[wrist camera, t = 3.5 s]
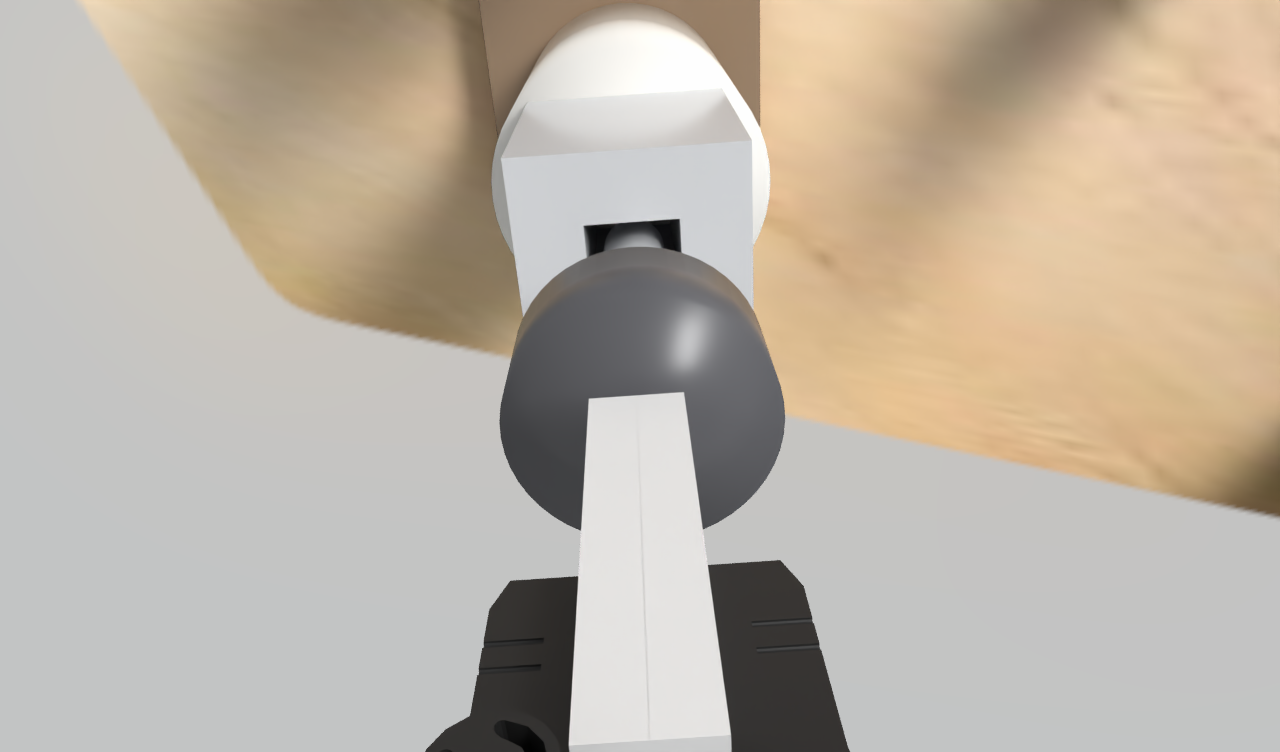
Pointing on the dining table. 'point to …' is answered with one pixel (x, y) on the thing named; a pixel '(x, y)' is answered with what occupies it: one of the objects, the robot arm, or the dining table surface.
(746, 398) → the plunger
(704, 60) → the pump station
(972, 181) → the dining table surface
